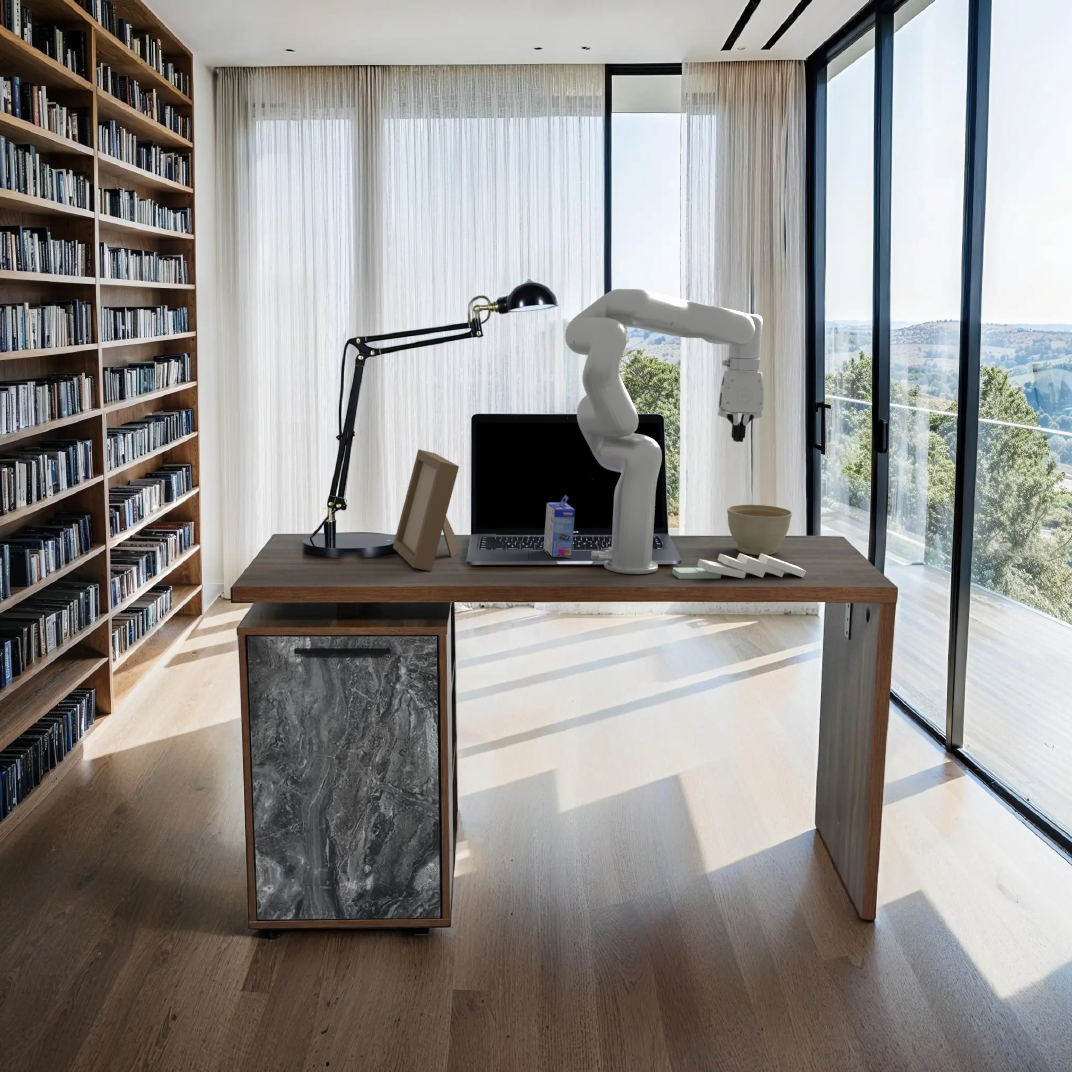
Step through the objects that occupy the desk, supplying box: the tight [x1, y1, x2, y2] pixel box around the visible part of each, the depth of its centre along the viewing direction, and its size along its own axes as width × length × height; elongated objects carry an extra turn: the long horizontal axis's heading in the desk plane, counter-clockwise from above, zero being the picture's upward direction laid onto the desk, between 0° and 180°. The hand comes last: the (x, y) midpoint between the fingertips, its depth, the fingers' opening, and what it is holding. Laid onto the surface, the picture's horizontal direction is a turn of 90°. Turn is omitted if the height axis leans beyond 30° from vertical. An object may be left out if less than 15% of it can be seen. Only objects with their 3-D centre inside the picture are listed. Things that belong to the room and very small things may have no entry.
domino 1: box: [672, 567, 722, 580], centre depth 263 cm, size 2×5×10 cm
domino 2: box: [697, 558, 747, 579], centre depth 262 cm, size 2×5×10 cm
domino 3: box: [717, 553, 766, 578], centre depth 264 cm, size 2×5×10 cm
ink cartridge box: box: [543, 494, 576, 556], centre depth 279 cm, size 10×6×14 cm, turn 11°
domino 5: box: [757, 553, 807, 578], centre depth 266 cm, size 2×5×10 cm
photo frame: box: [392, 448, 460, 572], centre depth 267 cm, size 15×22×25 cm
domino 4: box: [736, 552, 785, 578], centre depth 265 cm, size 2×5×10 cm
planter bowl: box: [727, 504, 793, 556], centre depth 290 cm, size 16×16×11 cm
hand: (737, 441), depth 279 cm, fingers closed
